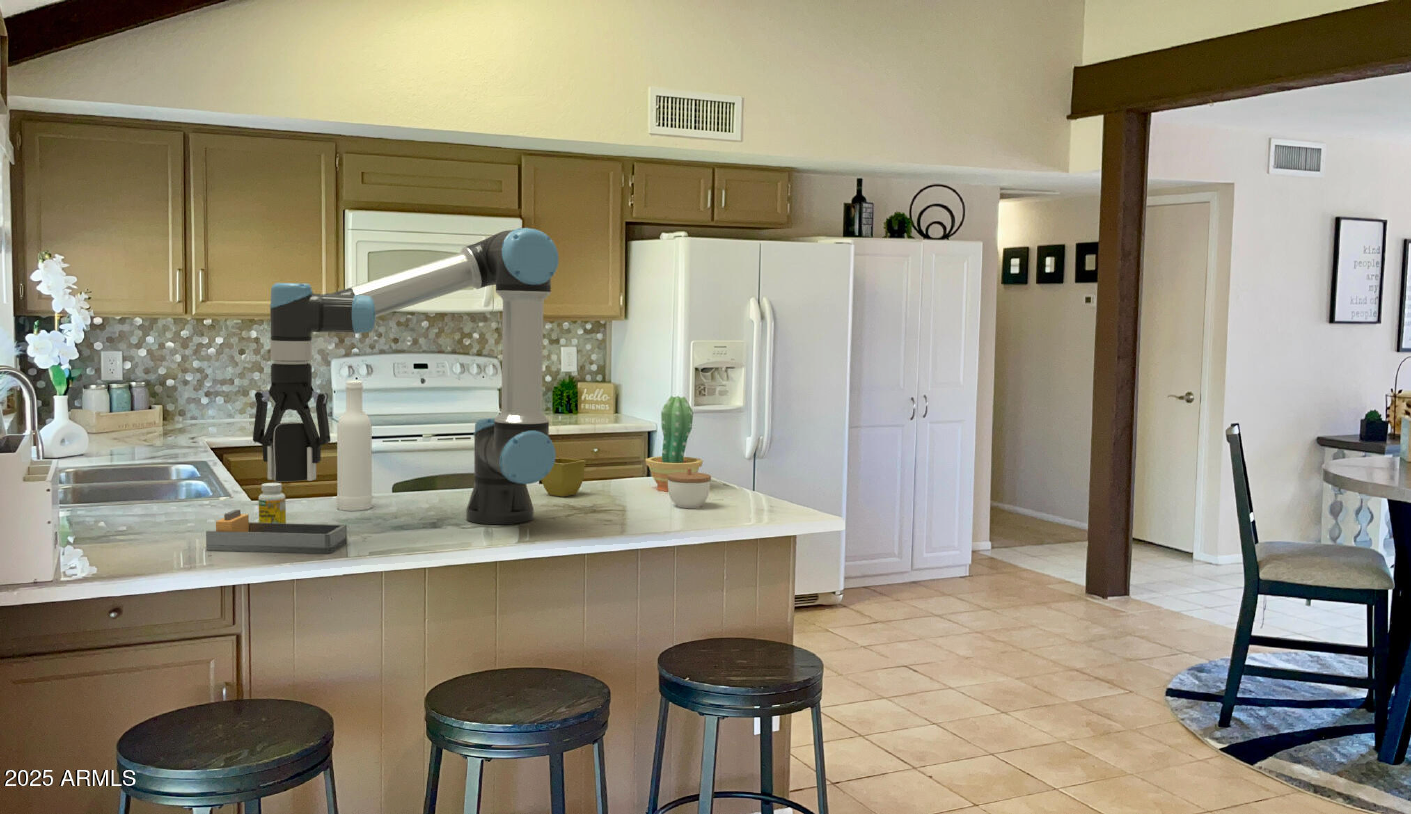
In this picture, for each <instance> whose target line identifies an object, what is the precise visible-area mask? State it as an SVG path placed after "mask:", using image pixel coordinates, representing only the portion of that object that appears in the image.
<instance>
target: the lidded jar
mask: <svg viewBox="0 0 1411 814" xmlns="http://www.w3.org/2000/svg"><path fill="white" fill-rule="evenodd" d="M667 479H668V495H669V498H670V499H671V502H672V503H673V504H675V506H676V507H677V508H680V509H698V508H699V509H700V508H701V507H702V505H703V504H704V503H705V502H706V501H707V499H708V497H709V494H710V490H711V480H712V476H711V475H710V474H708V473H706V472H705V473H704V472H691V468H688V469H687V472H676V473H670V474H668V475H667Z"/></svg>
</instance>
